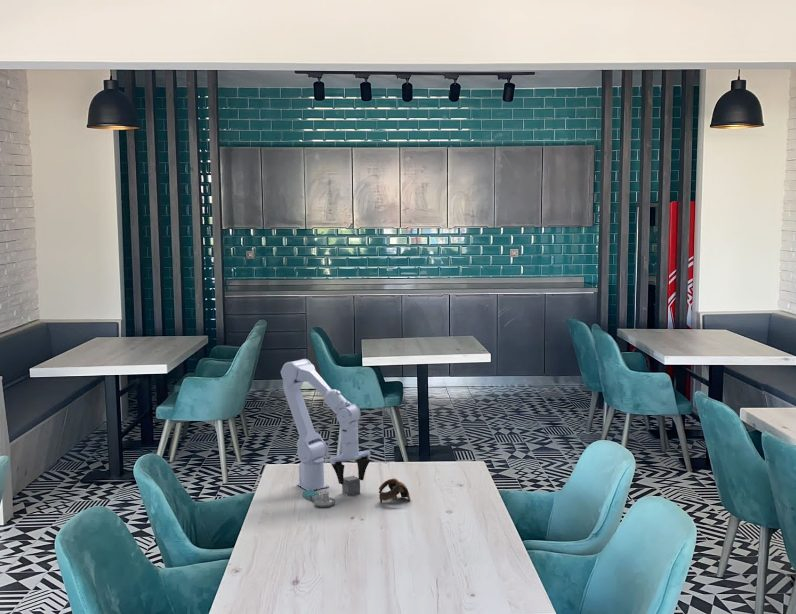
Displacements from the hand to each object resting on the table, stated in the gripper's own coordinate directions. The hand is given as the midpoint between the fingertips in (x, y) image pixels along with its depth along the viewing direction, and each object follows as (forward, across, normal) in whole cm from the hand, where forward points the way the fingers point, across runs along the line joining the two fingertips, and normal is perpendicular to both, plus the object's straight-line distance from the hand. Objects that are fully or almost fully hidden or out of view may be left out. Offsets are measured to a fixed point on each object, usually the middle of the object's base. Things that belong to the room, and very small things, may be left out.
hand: (351, 481), depth 280 cm
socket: (+4, 0, 0) cm, 4 cm away
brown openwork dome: (+4, +8, -16) cm, 18 cm away
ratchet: (+4, -13, -1) cm, 14 cm away
